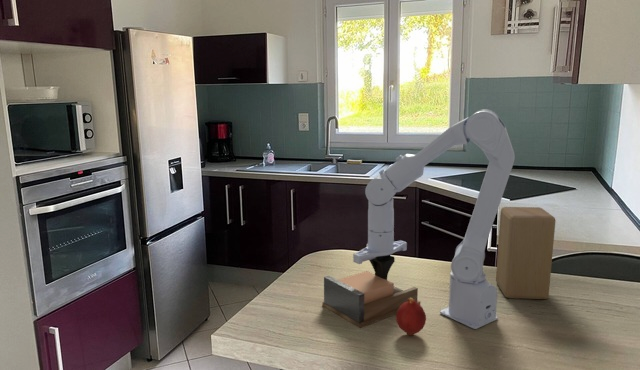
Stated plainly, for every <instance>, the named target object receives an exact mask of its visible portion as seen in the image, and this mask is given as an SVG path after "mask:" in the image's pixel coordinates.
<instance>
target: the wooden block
mask: <svg viewBox="0 0 640 370" xmlns="http://www.w3.org/2000/svg"><path fill="white" fill-rule="evenodd" d="M499 215H500V216H499V226H498V227H499V229H498V243H497V244H498V245H497V257H496V270H495V271H496V273H495V282H496V284H497V286H498V287H499V289H500V290H501V292H502V293H503V295H504V297H506V298H508V299H531V300H534V299H535V300H547V299H548V298H549V296H550V285H551V284H550V283H551V276H552V275H551V274H552V263H553V262H552V261H553V252H554V241H555V232H556V231H555V230H556V220H557V219H556V217H554V216H553V215H552V214H550V213H549V212H548V211H547V210H545V209H544V208H542V207H539V206H538V207H536V206H534V207H531V206H530V207H529V206H528V207H527V206H504V207H501V209H500V214H499Z"/></svg>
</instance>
